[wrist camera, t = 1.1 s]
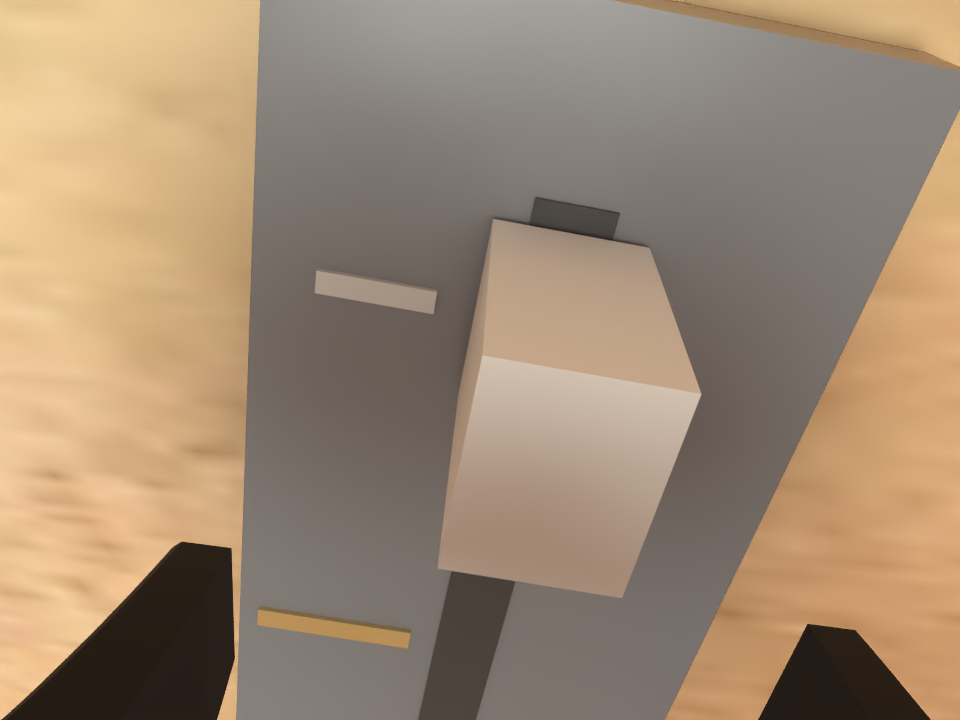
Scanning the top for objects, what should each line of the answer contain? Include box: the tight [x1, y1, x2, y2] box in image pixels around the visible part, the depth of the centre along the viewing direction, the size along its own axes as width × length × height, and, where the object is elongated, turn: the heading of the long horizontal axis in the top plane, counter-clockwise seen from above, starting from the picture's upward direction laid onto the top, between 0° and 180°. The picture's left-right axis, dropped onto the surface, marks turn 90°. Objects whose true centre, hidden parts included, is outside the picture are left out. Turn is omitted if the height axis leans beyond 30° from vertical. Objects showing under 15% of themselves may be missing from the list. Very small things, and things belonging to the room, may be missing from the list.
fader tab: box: [438, 219, 701, 598], centre depth 14 cm, size 3×4×5 cm
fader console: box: [236, 0, 960, 720], centre depth 21 cm, size 12×26×2 cm, turn 170°
